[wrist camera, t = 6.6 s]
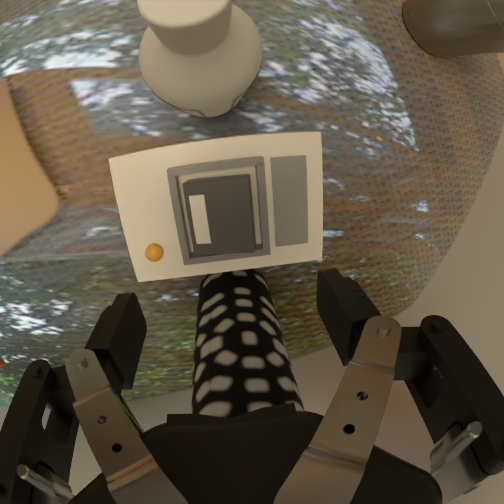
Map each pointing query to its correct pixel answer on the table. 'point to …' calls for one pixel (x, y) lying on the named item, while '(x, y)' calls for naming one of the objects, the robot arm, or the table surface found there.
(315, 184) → the switch box
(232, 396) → the spotted tube
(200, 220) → the rocker paddle
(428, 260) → the table surface
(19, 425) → the robot arm
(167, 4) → the bath foam
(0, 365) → the sunglasses case
